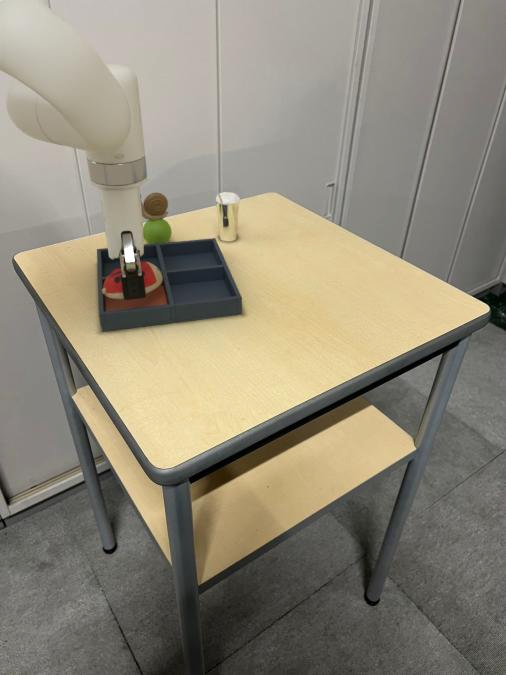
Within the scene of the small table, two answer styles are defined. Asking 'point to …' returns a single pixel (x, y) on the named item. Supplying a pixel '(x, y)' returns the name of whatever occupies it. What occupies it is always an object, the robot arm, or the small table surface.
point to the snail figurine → (155, 219)
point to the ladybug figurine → (114, 285)
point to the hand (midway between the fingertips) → (133, 283)
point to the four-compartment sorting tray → (173, 287)
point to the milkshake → (227, 215)
